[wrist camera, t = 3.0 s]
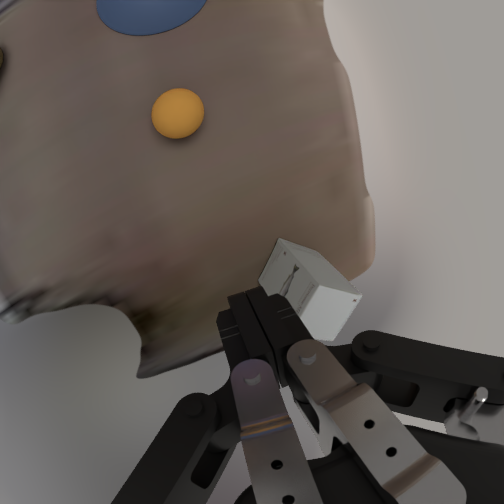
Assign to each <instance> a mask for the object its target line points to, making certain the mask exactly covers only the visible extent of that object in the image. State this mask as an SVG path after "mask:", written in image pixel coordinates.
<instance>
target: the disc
mask: <svg viewBox="0 0 504 504" xmlns="http://www.w3.org/2000/svg"><path fill="white" fill-rule="evenodd" d="M205 2H206V0H97V11H98V14H99V16H100V18H101V19H102V21H103V22H104V23H105V24H106V25H107V26H108V27H110V28H111V29H113V30H115V31H117V32H120V33H123V34H128V35H152V34H157V33H161V32H165V31H168V30H170V29H173V28H175V27H177V26H179V25H181V24H183V23H185V22H186V21H188V20H189V19H191V18H192V17H193V16H194V15H195V14H196V13H198V12H199V10H200V9H201V8H202V7H203V5H204V4H205Z"/></svg>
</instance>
